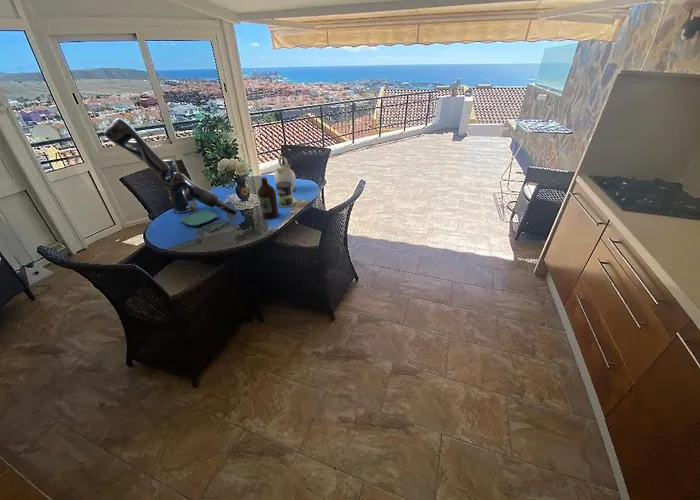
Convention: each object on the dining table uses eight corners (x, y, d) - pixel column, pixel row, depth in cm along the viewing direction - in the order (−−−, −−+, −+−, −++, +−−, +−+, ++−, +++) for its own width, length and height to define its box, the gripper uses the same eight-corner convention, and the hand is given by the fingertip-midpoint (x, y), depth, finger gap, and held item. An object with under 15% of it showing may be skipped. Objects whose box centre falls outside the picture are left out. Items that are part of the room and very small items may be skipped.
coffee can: (289, 208, 195) (286, 188, 188) (276, 205, 199) (272, 186, 191) (296, 202, 203) (294, 182, 196) (284, 200, 207) (281, 180, 199)
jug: (289, 184, 232) (285, 152, 219) (300, 189, 223) (297, 156, 209) (272, 189, 224) (267, 156, 210) (283, 195, 214) (278, 160, 200)
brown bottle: (267, 211, 191) (259, 174, 178) (282, 212, 189) (275, 175, 176) (259, 218, 183) (251, 180, 169) (275, 220, 181) (267, 181, 167)
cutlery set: (206, 210, 195) (205, 207, 193) (233, 222, 180) (232, 219, 178) (176, 222, 182) (175, 218, 180) (203, 236, 166) (201, 232, 165)
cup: (225, 220, 173) (220, 204, 167) (230, 216, 177) (226, 200, 172) (234, 221, 172) (230, 205, 166) (239, 216, 176) (235, 201, 171)
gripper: (199, 199, 165) (226, 212, 178) (207, 207, 156) (234, 221, 168) (206, 188, 165) (232, 202, 178) (214, 195, 156) (241, 210, 168)
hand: (233, 211), depth 173 cm, fingers closed on cup, 6 cm apart
